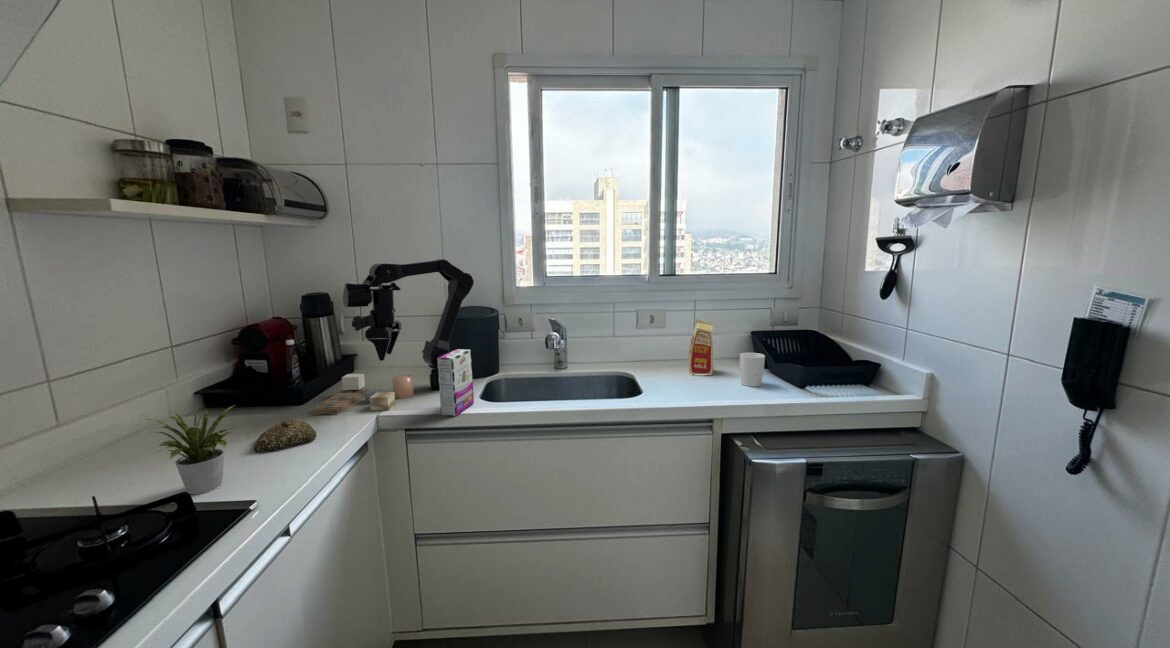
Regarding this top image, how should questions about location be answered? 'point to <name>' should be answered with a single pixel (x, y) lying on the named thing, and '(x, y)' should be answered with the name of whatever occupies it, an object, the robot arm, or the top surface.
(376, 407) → the oak block
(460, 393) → the candy bar box
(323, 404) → the board
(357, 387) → the white block
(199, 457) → the house plant
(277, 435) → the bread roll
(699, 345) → the milk carton
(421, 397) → the top surface
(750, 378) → the white cup
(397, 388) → the pink pillar candle
